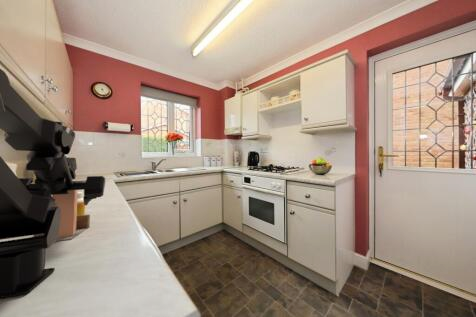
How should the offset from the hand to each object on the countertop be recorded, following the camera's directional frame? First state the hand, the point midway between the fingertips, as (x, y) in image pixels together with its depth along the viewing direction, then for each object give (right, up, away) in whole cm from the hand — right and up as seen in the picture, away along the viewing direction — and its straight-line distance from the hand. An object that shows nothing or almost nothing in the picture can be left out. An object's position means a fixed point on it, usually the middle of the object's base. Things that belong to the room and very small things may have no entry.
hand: (66, 205), depth 51 cm
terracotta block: (+1, -8, -1) cm, 8 cm away
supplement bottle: (-8, -8, +11) cm, 16 cm away
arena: (-1, -8, -1) cm, 8 cm away
